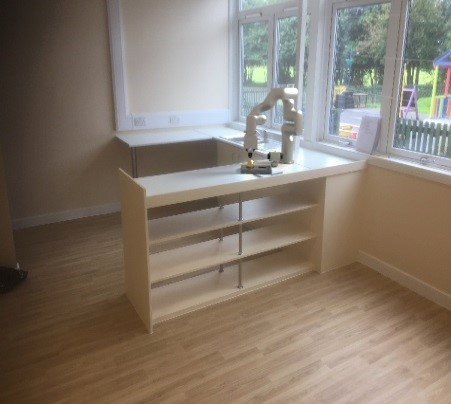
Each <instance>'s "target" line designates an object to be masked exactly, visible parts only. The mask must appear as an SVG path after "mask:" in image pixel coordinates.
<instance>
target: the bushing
mask: <svg viewBox="0 0 451 404" xmlns="http://www.w3.org/2000/svg"><path fill="white" fill-rule="evenodd" d="M246 165H247V168H253V165H254V159H247V160H246Z"/></svg>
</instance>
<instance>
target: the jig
mask: <svg viewBox="0 0 451 404" xmlns="http://www.w3.org/2000/svg"><path fill="white" fill-rule="evenodd" d="M272 171H273V170H272V166H271V164H270V165H269V164H268V165H267V164H266V165H265V164H263V165H262V164H253V168H247V164H240V174H244V175H245V174H246V175H248V174H249V175H251V174H252V175H256V174H255V173H260V174H259V175H272V174H273V172H272Z"/></svg>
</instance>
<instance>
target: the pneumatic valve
mask: <svg viewBox="0 0 451 404" xmlns="http://www.w3.org/2000/svg"><path fill="white" fill-rule="evenodd" d="M266 159H267V160H268V162H270V166H271V167H273V168H275V167H278V166H279V161H281V159H283V154H281V151H277V150H274V151H268V153H266Z"/></svg>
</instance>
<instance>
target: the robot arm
mask: <svg viewBox="0 0 451 404" xmlns="http://www.w3.org/2000/svg"><path fill="white" fill-rule="evenodd" d="M298 95H299V91H298V89H297V88H296V87H288V86H280V87H273V88H271V89H270V91H269V92H268V94H267V95H266V97H265V98H264V100H263V101H262V102H260V103H259V104H257V105H256V106H254V107H253V108H252V109H251V111H250V112H249V114H247V115H246V118H245V130H243V134H244V133H245V134H244V136H243V143H242V144H243V146H242V150H244V151H246V152H247V157H248V159H251V158H252V157H253V153H254V152H255V151H258V146H259V141H258V140H259V139H258V134H257V128H258V127H257V126H264V125H265V124H266V123H267V120H268V119H267V116H266V115H264V114H262V113H264V112H267V111H271V110H272V109H274V107H275V105H276V104H277V102H278V101H279V100H281V101H282V108H283V109H282V117H283V120H284V121H286V122H284V123H283V124H281V127H280V133H281V148H280V152H281V154H283V159H281V161H278V163H280V164H289V165H291V164H294V163H295V160H293V159H294V158H293V157H294V144H295V141H294V137H300V136H302V134H303V131H304V114H303V112H302V110H300V109H295V102H294V101H295V100H296V98H297V97H298ZM294 99H295V100H294Z"/></svg>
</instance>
